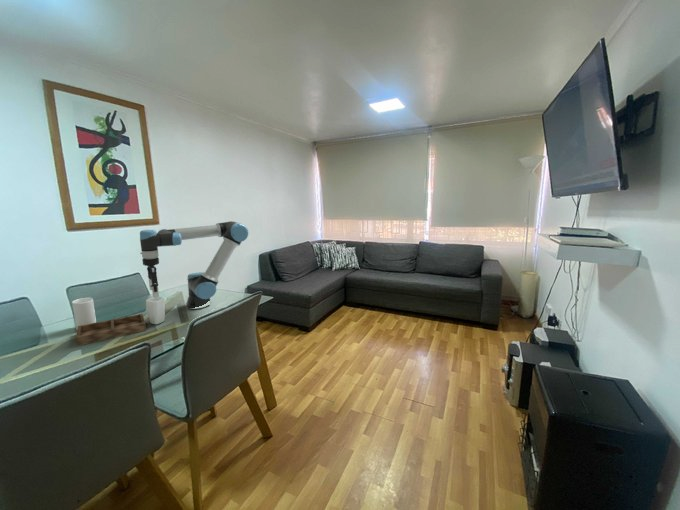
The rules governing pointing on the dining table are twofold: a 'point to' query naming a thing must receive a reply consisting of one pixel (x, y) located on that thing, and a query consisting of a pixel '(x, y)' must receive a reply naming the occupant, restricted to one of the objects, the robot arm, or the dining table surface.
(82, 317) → the cup
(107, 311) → the dining table surface
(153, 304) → the cup
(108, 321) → the tray
